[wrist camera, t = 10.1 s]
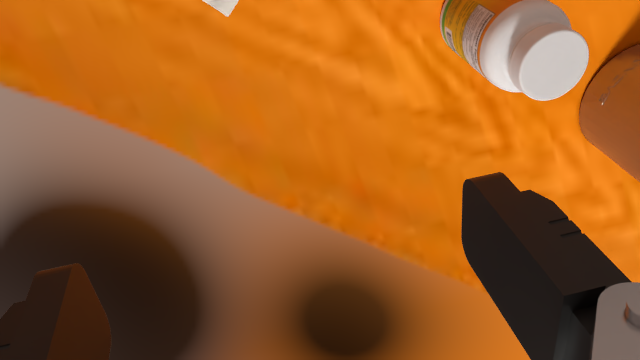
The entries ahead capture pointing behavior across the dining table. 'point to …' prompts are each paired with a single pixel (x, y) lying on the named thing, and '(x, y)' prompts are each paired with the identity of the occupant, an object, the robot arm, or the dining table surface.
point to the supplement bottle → (517, 44)
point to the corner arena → (223, 5)
